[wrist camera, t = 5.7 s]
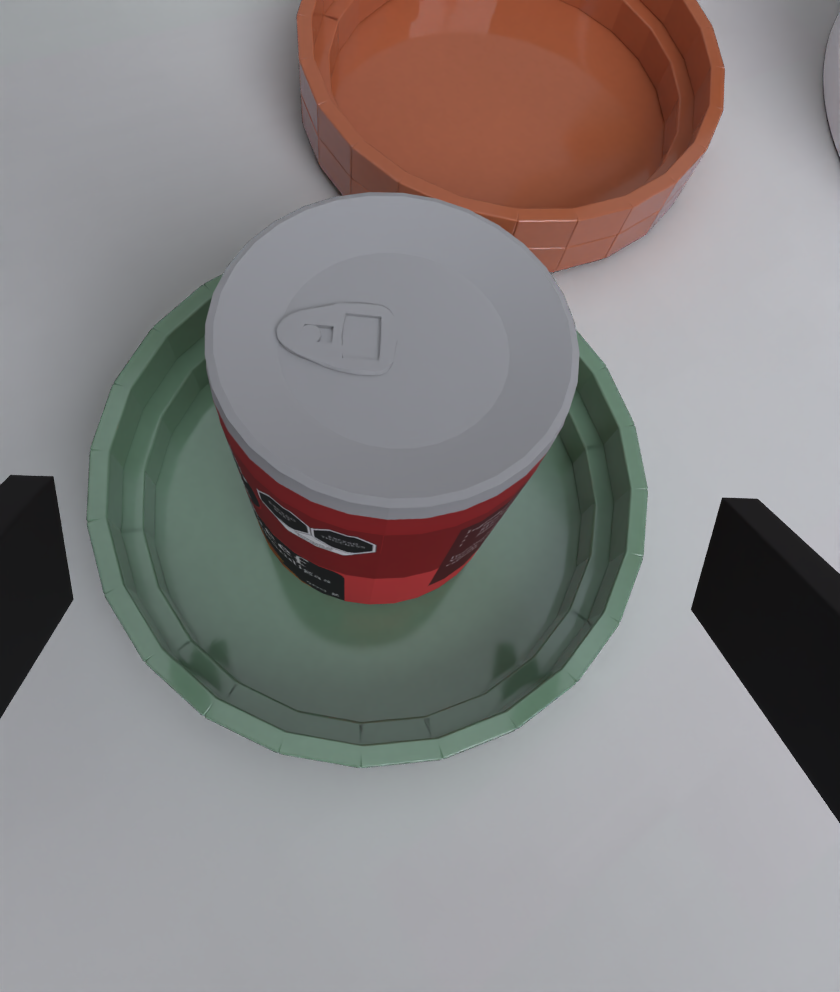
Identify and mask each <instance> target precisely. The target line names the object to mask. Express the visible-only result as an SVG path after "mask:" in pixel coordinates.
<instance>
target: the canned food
mask: <svg viewBox="0 0 840 992" xmlns="http://www.w3.org/2000/svg"><path fill="white" fill-rule="evenodd" d="M579 354H580V352H579V346H578V339H577V333H576V327H575V322H574V319H573V317H572V314H571V312H570V309H569V307H568V304H567V302H566V299H565V296H564V294H563V292H562V291H561V289H560V288H559V286H558V285H557V283H556V282H555V280H554V278H553V277H552V275H551V274H550V272H549V271H548V269H547V268H546V267H545V266H544V264H543V263H542V262H541V261H540V260H539V259H538V258H537V257H536V256H535V255H534V254H533V253H532V252H531V251H530V250H529V249H528V248H527V247H526V245H525V244H523V243H522V242H521V241H519V240H518V239H517V238H515V237H514V236H513V235H511V234H510V233H509V232H507V231H506V230H505V229H503V228H502V227H500V226H499V225H498V224H496V223H494V222H492V221H490V220H488V219H486V218H484V217H482V216H480V215H478V214H476V213H474V212H473V211H471V210H469V209H466V208H463V207H460V206H457V205H454V204H451V203H448V202H445V201H442V200H439V199H436V198H430V197H424V196H418V195H412V194H407V193H385V192H366V193H359V194H352V195H345V196H337V197H333V198H330V199H326V200H323V201H320V202H317V203H313V204H310V205H307V206H304V207H302V208H300V209H298V210H296V211H294V212H292V213H290V214H288V215H286V216H284V217H282V218H280V219H278V220H276V221H274V222H273V223H272V224H270V225H269V226H268V227H266V228H265V229H264V230H262V231H261V232H260V233H259V234H257V235H256V236H255V237H253V238H252V239H251V240H250V241H248V243H247V244H246V245H245V246H244V247H243V248H242V250H241V251H240V252H239V253H238V254H237V255H236V257H235V258H234V259H233V260H232V261H231V262H230V264H229V265H228V266H227V268H226V270H225V272H224V274H223V276H222V277H221V279H220V281H219V283H218V285H217V287H216V289H215V291H214V292H213V296H212V300H211V303H210V307H209V311H208V315H207V319H206V322H205V359H206V371H207V375H208V379H209V384H210V388H211V393H212V397H213V401H214V404H215V407H216V410H217V412H218V415H219V420H220V423H221V426H222V429H223V431H224V434H225V437H226V439H227V442H228V444H229V447H230V450H231V452H232V455H233V458H234V460H235V463H236V465H237V468H238V471H239V473H240V476H241V478H242V481H243V484H244V486H245V489H246V492H247V494H248V497H249V499H250V502H251V505H252V507H253V510H254V512H255V515H256V518H257V520H258V523H259V526H260V528H261V530H262V532H263V534H264V537H265V539H266V541H267V543H268V545H269V547H270V549H271V550H272V551H273V553H274V554H275V555H276V557H277V558H278V559H279V561H280V562H281V563H282V564H283V566H284V567H285V568H286V569H288V570H289V571H290V572H291V573H292V574H293V575H295V576H296V577H297V578H298V579H299V580H300V581H302V582H303V583H305V584H307V585H309V586H310V587H312V588H314V589H316V590H317V591H319V592H321V593H323V594H326V595H329V596H332V597H335V598H338V599H341V600H344V601H348V602H355V603H362V604H390V603H397V602H401V601H405V600H410V599H414V598H417V597H420V596H422V595H424V594H426V593H428V592H431V591H433V590H435V589H437V588H439V587H440V586H442V585H443V584H444V583H446V582H447V581H449V580H450V579H451V578H453V577H454V576H456V575H457V574H458V573H459V572H460V571H461V569H462V568H463V567H464V566H465V565H466V564H467V563H468V562H469V561H470V560H471V559H472V557H473V556H474V554H475V553H476V552H477V550H478V549H479V548H480V546H481V545H482V543H483V542H484V541H485V539H486V538H487V537H488V535H489V534H490V533H491V531H492V530H493V528H494V527H495V526H496V524H497V523H498V522H499V520H500V519H501V517H502V516H503V515H504V513H505V512H506V511H507V509H508V508H509V507H510V505H511V504H512V502H513V501H514V500H515V498H516V497H517V496H518V494H519V493H520V492H521V490H522V489H523V487H524V486H525V485H526V483H527V482H528V481H529V479H530V478H531V476H532V475H533V474H534V472H535V471H536V469H537V468H538V466H539V464H540V463H541V461H542V459H543V458H544V457H545V455H546V454H547V452H548V451H549V449H550V447H551V446H552V444H553V442H554V440H555V439H556V437H557V435H558V434H559V432H560V430H561V428H562V427H563V425H564V422H565V419H566V416H567V414H568V412H569V409H570V406H571V403H572V400H573V396H574V393H575V390H576V386H577V383H578V369H579Z"/></svg>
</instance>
